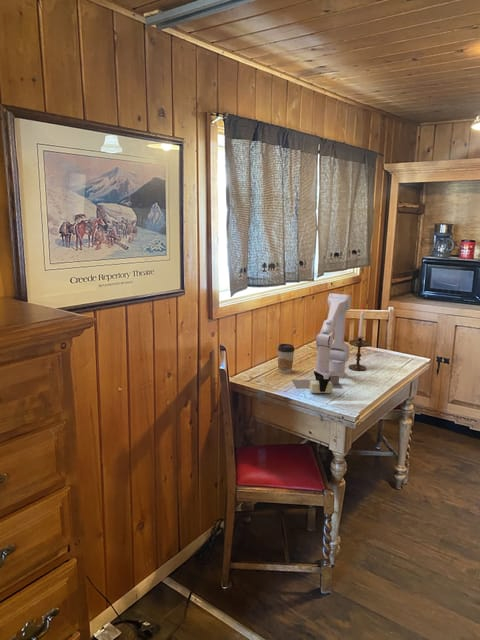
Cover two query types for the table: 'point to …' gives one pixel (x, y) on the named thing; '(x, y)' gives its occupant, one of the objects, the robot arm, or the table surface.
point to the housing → (306, 383)
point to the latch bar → (336, 373)
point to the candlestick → (359, 345)
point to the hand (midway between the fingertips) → (320, 389)
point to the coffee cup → (285, 358)
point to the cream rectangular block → (316, 389)
